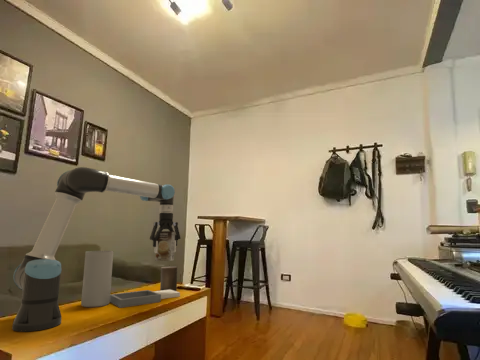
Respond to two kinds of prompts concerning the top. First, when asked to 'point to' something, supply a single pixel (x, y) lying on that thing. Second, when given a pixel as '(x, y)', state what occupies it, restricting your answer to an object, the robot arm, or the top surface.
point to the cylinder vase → (97, 278)
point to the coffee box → (165, 246)
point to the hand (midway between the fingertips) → (165, 252)
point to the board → (168, 293)
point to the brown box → (168, 278)
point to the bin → (134, 298)
